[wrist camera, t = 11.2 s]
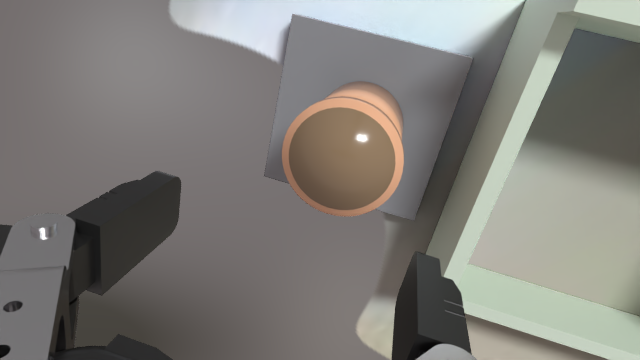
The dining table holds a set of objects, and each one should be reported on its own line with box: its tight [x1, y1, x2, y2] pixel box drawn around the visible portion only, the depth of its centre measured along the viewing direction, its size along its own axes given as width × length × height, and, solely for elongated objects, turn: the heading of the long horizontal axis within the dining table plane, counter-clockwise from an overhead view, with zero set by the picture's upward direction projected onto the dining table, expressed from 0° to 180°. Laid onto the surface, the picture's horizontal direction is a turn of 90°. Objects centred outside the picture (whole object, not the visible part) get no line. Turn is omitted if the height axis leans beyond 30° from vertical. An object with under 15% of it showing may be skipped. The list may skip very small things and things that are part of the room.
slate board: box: [264, 14, 473, 221], centre depth 28 cm, size 12×12×2 cm
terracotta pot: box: [282, 81, 404, 216], centre depth 24 cm, size 6×6×8 cm
